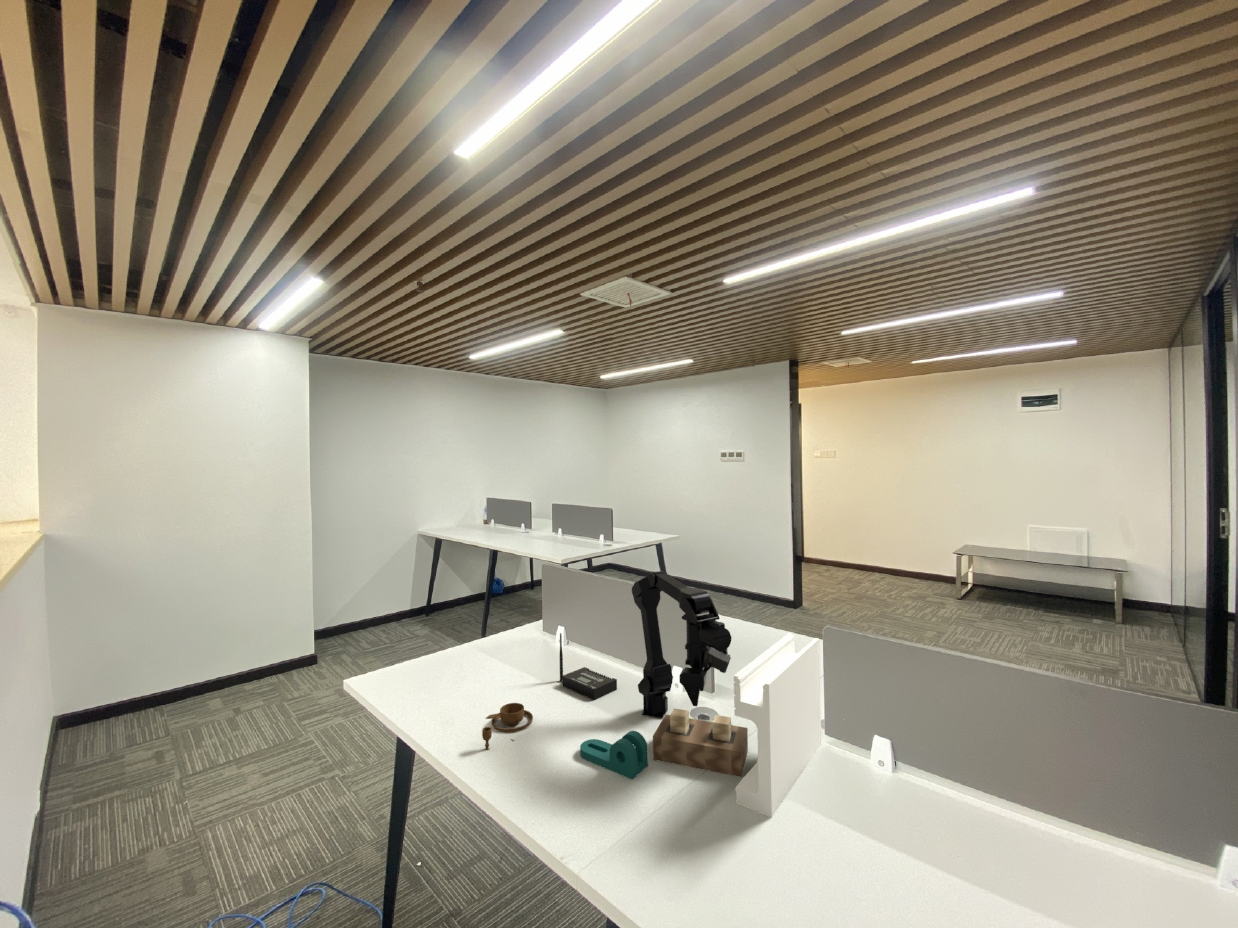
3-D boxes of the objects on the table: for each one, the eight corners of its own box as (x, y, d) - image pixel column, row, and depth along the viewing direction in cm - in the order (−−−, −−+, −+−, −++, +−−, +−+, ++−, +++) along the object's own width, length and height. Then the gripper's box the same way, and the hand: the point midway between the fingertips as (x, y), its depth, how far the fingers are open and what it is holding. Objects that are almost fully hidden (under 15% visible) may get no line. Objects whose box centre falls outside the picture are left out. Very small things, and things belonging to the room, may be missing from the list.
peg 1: (670, 737, 132) (669, 715, 132) (674, 729, 136) (674, 708, 136) (685, 739, 131) (685, 717, 131) (689, 732, 135) (688, 710, 135)
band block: (653, 759, 130) (652, 736, 130) (666, 736, 141) (665, 714, 141) (741, 777, 122) (740, 752, 122) (747, 750, 133) (747, 727, 133)
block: (771, 817, 108) (769, 684, 108) (736, 802, 113) (733, 675, 113) (821, 744, 136) (819, 638, 136) (791, 735, 140) (788, 632, 141)
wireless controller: (620, 689, 172) (619, 638, 172) (590, 703, 162) (589, 649, 162) (580, 673, 186) (580, 626, 186) (550, 685, 176) (549, 635, 176)
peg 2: (712, 744, 128) (712, 722, 128) (715, 736, 132) (715, 714, 132) (728, 747, 127) (728, 724, 127) (731, 739, 131) (731, 717, 131)
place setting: (547, 727, 148) (547, 707, 148) (486, 756, 134) (486, 733, 134) (512, 708, 160) (512, 689, 160) (453, 732, 146) (453, 712, 146)
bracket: (647, 766, 127) (647, 734, 127) (632, 780, 122) (632, 747, 122) (591, 744, 138) (590, 715, 138) (575, 756, 132) (574, 726, 132)
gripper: (723, 655, 125) (724, 719, 125) (732, 631, 142) (733, 687, 142) (678, 650, 128) (679, 712, 128) (692, 627, 146) (693, 682, 146)
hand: (698, 698), depth 136 cm, fingers open, 9 cm apart
